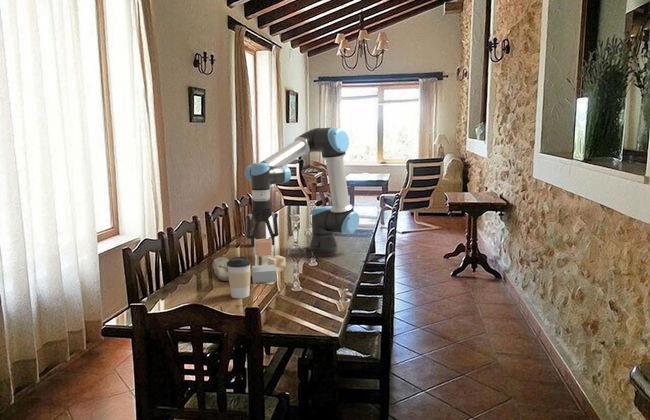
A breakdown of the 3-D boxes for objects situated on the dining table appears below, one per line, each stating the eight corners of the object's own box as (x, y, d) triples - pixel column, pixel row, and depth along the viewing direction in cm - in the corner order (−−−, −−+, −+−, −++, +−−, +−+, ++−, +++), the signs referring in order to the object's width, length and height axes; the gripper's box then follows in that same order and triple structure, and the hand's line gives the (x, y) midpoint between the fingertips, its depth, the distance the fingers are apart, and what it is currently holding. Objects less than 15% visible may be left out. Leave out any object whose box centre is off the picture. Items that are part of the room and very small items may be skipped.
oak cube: (278, 267, 228) (278, 255, 227) (285, 270, 223) (285, 257, 222) (267, 270, 224) (267, 257, 223) (274, 273, 219) (274, 260, 218)
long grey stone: (230, 263, 242) (210, 266, 239) (229, 253, 241) (209, 256, 238) (241, 279, 209) (217, 283, 206) (239, 267, 208) (216, 271, 205)
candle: (269, 244, 274) (267, 209, 271) (263, 247, 267) (261, 211, 264) (256, 243, 277) (255, 209, 273) (250, 246, 270) (249, 211, 267)
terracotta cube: (268, 251, 213) (268, 238, 212) (271, 255, 207) (270, 241, 206) (255, 253, 211) (254, 239, 210) (257, 256, 205) (256, 242, 204)
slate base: (275, 275, 216) (274, 264, 216) (276, 282, 207) (276, 270, 206) (252, 276, 215) (251, 265, 214) (252, 283, 205) (252, 272, 204)
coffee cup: (229, 292, 194) (228, 255, 192) (252, 291, 195) (251, 254, 192) (227, 299, 185) (225, 261, 183) (251, 298, 186) (249, 260, 183)
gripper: (239, 202, 199) (242, 257, 202) (285, 199, 205) (286, 253, 208) (237, 199, 206) (239, 253, 209) (281, 197, 212) (282, 249, 215)
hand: (263, 253), depth 209 cm, fingers closed on terracotta cube, 6 cm apart
